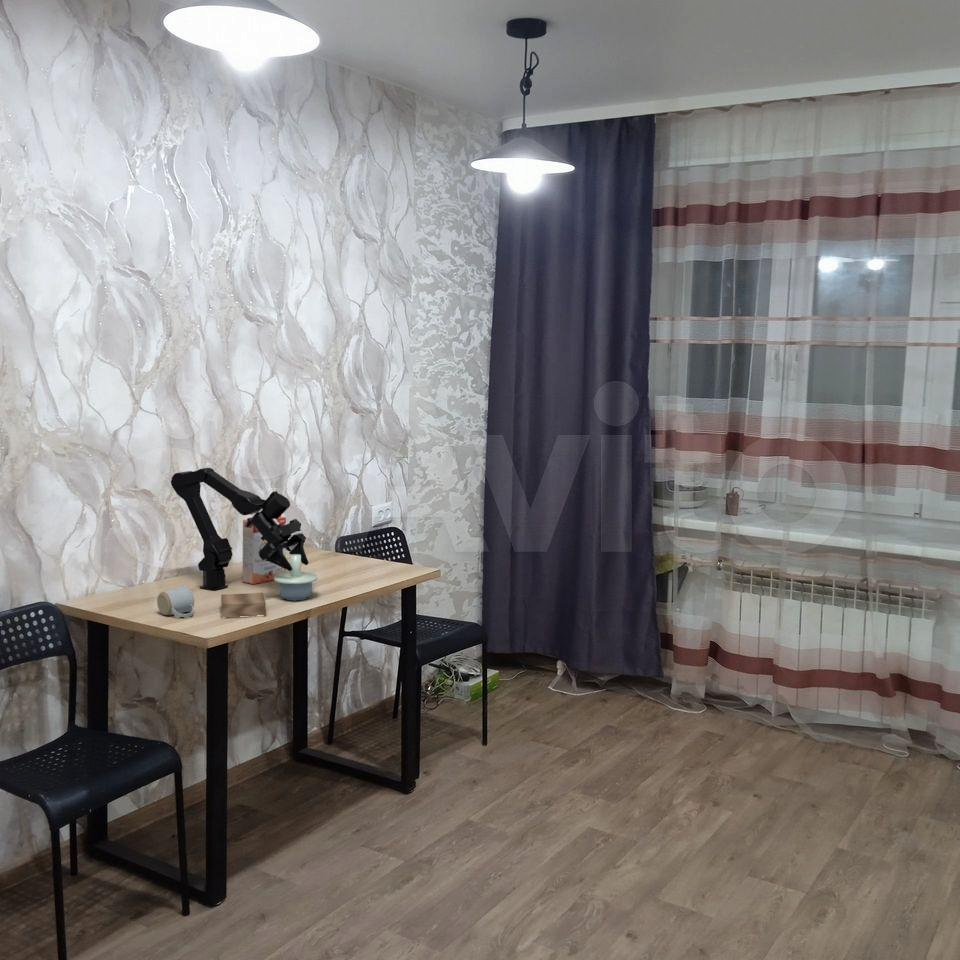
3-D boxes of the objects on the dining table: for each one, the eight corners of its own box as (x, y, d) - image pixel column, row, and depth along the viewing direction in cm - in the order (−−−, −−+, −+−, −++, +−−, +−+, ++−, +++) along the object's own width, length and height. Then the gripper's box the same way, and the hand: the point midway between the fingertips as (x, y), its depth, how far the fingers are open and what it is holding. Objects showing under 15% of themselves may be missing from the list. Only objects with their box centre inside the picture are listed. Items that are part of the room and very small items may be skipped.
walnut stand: (222, 618, 276) (222, 604, 276) (221, 607, 288) (221, 594, 287) (265, 616, 280) (265, 602, 279) (263, 605, 291) (263, 592, 290)
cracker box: (253, 585, 316) (253, 521, 314) (241, 582, 320) (241, 519, 317) (287, 578, 327) (286, 516, 325) (274, 575, 331) (274, 514, 328)
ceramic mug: (155, 613, 280) (155, 587, 279) (180, 608, 286) (180, 582, 285) (176, 621, 273) (175, 594, 272) (201, 616, 279) (201, 589, 278)
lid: (273, 584, 293) (273, 559, 292) (274, 574, 305) (274, 551, 304) (317, 583, 295) (317, 559, 294) (317, 574, 308) (317, 550, 307)
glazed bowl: (272, 599, 299) (272, 580, 298) (293, 592, 308) (293, 574, 307) (297, 603, 294) (297, 584, 293) (318, 597, 303) (318, 578, 302)
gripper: (267, 516, 290) (299, 556, 288) (300, 507, 308) (331, 545, 305) (244, 539, 294) (276, 579, 292) (279, 530, 311) (309, 567, 309)
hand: (299, 567), depth 299 cm, fingers open, 9 cm apart
